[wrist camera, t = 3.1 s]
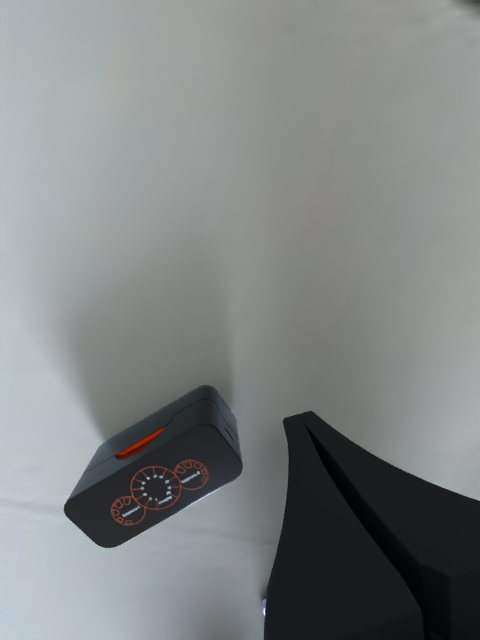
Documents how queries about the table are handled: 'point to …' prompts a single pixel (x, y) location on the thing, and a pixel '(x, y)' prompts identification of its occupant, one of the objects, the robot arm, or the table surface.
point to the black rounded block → (157, 468)
